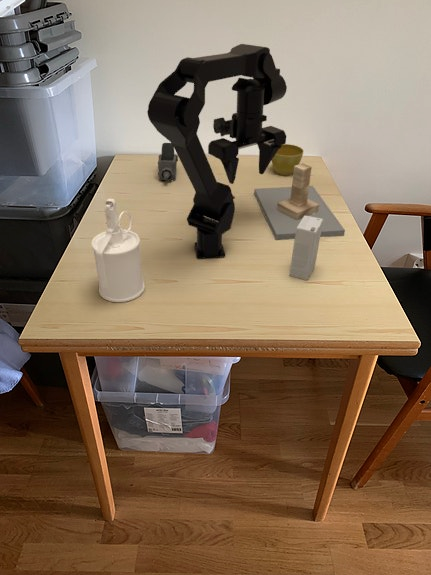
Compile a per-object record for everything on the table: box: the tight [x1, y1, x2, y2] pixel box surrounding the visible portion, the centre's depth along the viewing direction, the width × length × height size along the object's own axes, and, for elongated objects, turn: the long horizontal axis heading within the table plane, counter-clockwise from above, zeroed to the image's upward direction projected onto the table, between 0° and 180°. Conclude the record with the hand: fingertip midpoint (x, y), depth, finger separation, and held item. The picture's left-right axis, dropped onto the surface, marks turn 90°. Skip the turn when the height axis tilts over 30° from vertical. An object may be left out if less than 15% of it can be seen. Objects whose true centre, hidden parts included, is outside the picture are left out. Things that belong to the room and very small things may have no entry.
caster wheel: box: [157, 142, 179, 182], centre depth 141 cm, size 6×10×15 cm
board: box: [253, 185, 346, 241], centre depth 125 cm, size 26×17×2 cm, turn 8°
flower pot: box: [271, 143, 305, 176], centre depth 145 cm, size 10×10×7 cm
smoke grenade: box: [90, 198, 146, 303], centre depth 91 cm, size 10×9×20 cm
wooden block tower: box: [277, 163, 319, 220], centre depth 119 cm, size 8×7×12 cm
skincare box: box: [289, 216, 323, 281], centre depth 99 cm, size 6×4×12 cm
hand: (246, 178), depth 111 cm, fingers open, 9 cm apart
